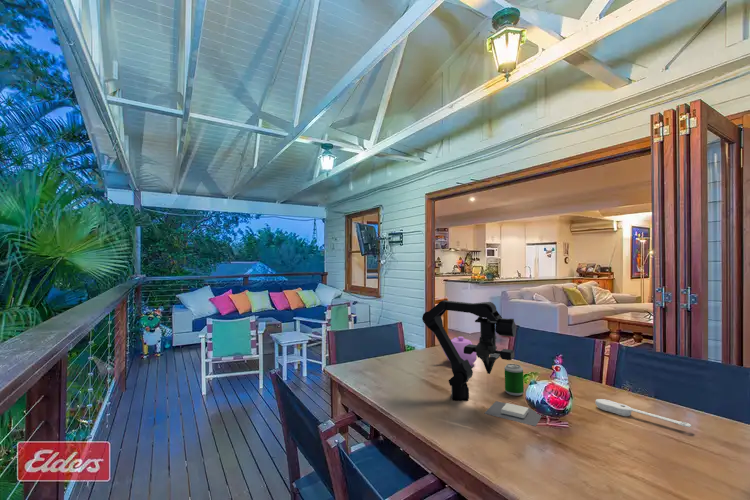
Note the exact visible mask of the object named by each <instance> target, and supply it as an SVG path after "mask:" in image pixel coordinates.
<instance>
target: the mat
mask: <svg viewBox="0 0 750 500" xmlns="http://www.w3.org/2000/svg"><path fill="white" fill-rule="evenodd" d="M506 403H507V402H501V401H497V400H495V402H494V403H492V404H491V406H489V408H488V409H487V410H485V412H484V414H485V415H488V416H493V417H496V418H497V417H498V418H501V419H504V420H509V421H513V422H517V423H521V424H525V425H528V426H529V425H530V426H532V427H536V426H537V425H538V424H539V422H540V420H541V418H542V416H543V415H542V416H541V415H539V414H537V413H536V412H535V411H533V410H532V409H533V408H529V412H528V413H527V415H526V416H525V418H519V417H515V416H511V415H507V414H503V413H501V409H502V408H503V407H504V406H505V404H506Z"/></svg>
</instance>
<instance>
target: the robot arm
mask: <svg viewBox="0 0 750 500" xmlns="http://www.w3.org/2000/svg"><path fill="white" fill-rule="evenodd" d="M446 311H450V312H452V311H453V312H459V313H468V314H469V313H470V314H472V315H475V316H476V317H477V319H475V320H474V323H479V324H480V326H479V327H480V336H479V341H478V343H477V344H473V343H472V344H473V345H472V344H469V345H467V346H465V347H464V354H472V353H473V352H476V355H477V358H479V359H480V360H481V362H482V363H483V365H484V368H485V370H486V373H487V374H489V375H491V373H492V370H493V367H494V365H495V362H496V360H498V359H499V358H500V359H501V360H505V361H512V360H513V359H514V358H515V357H516V356H515V351H514V349H510V348H509V349H508V348H503V349H501V350H497V348H498V346H497V343H496V340H497V336H496V334H498V336H502V337H512V338H515V337H516V334H517V326H516V322H515V318H503V317H502V315H501V313H499V312H498V310H497V307H496V305H495V304H494V302H491V301H484V302H481V301H480V302H476V303H472V302H463V301H456V300H455V301H454V300H447V299H445V300H440V301H439V302H438V303H437V304H435V306H433V307H432V308H430V310H427V311H426V312H424V313H423V314H422V318H421V319H422V322H423V323H424V325H425V326H426V328H427V329H429V330H430V331H431V332H432V333H434V336H435V337H436V339H437V341H438V343H439V345H440V347H441V346H442V347H441V349H442V348H443V349H442V351H443V350H444V351H443V353H444V352H445V353H446V355H447V356H446V355H445V356H446V358H447V357H448V358H447V360H448V359H449V360H448V362H449V363H450V362H451V363H450V367H451V372H452V375H453V376H452V377H450V379H449V380H448V384H449V386H450V387H451V388H450V389H451V390H450V391H451V394H450V397H451V401H455V402H468V401H469V398H470V389H469V386H468V384H467V383H468V382H469V381H470V379H471V378H472V376H473V374H474V371H473V368H474V367H473V366H471V365H470V364H469V361H468V360H467V359H466V360H465V361H464V360H463V359H462V358H461V357H460V356H459V354H458V352H457V350H456V349H455V347H454V345H453V343H452V342H451V340H452V339H451V338H450V336H449V335H448V333H447V332H446V330H445V327H444V323H443V318H442V316H443V315H444V314H445V313H446ZM445 353H444V354H445Z"/></svg>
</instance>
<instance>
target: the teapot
mask: <svg viewBox="0 0 750 500" xmlns="http://www.w3.org/2000/svg"><path fill="white" fill-rule="evenodd" d="M450 340H451V342H452V343H453V345H454V347H455V349H456V350H457V352H458V354H459V356H460V357H461V358H462V359H463V360H464V361H465V360H466V359H467V360H468V361H469V364H470V365H471V367H473V366H474V365H473V364H475V362H476V361H477V358H478V357H477V355H476V352H473V353H472V354H464V347H465V346H467V345H469V344H472V345H474V344H473V343H472V341H471V340H470V339H468V338H465V337H464V336H462V335H461V336H460V335H459V336H458V337H453V338H452V339H450ZM440 347H441V349H442V352H443V353H444V355H445V356H446V358H447V360H448V361H449V359H448V357H447V355H446V353H445V352H444V350H443V348H442V346H441V345H440ZM449 363H450V364H451V362H450V361H449Z"/></svg>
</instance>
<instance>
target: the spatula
mask: <svg viewBox="0 0 750 500" xmlns="http://www.w3.org/2000/svg"><path fill="white" fill-rule="evenodd" d="M595 405H596V407H597V408H598V409H600V410H602V411H606V412H609V413H613V414H616V415H619V416H622V417H630V416H631V415H632V412H634V413H639V414H641V415H645V416H649V417H652V418H656V419H660V420H664V421H665V422H670V423H673V424H676V425H679V426H682V427H685V428H690V427H692V424H690V423H688V422H685V421H678V420H676V419H673V418H668V417H665V416H660V415H658V414H654V413H649V412H647V411H643V410H639V409H636V408H633V407H630V406H629V405H627V404H625V403H620V402H616V401H614V400H609V399H604V398H597V399H595Z"/></svg>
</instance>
